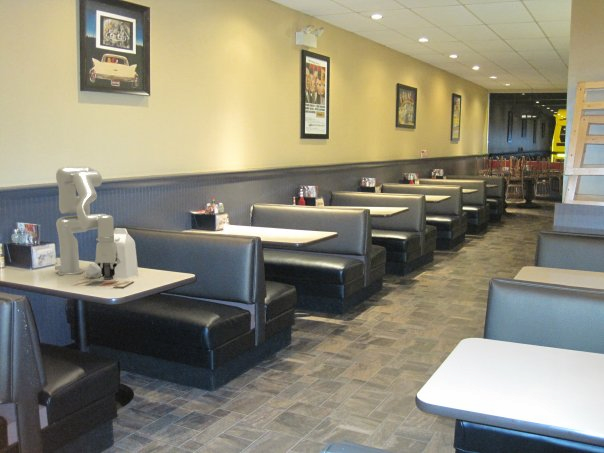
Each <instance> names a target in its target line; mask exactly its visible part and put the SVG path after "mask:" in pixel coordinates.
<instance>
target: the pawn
mask: <svg viewBox="0 0 604 453" xmlns="http://www.w3.org/2000/svg"><path fill="white" fill-rule="evenodd" d="M110 269H111V266H110V263H104V277H102V279H103V280H102V281H114V277H110Z"/></svg>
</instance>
